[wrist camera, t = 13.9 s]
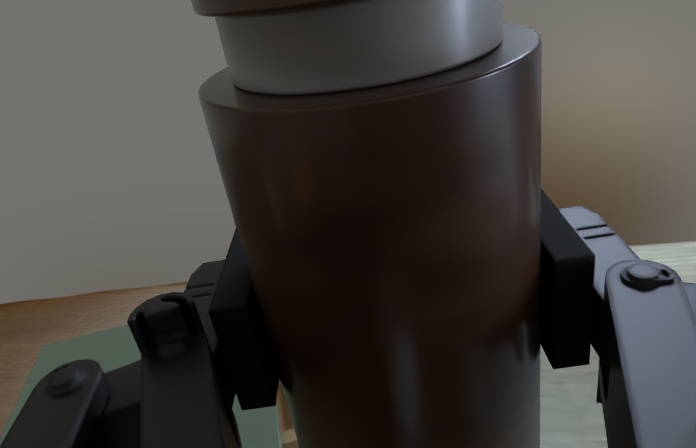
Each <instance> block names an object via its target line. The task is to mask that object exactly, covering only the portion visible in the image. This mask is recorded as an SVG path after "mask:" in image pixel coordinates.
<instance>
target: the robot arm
mask: <svg viewBox="0 0 696 448" xmlns="http://www.w3.org/2000/svg"><path fill="white" fill-rule="evenodd" d="M127 323H128V325H129V328H130V330H131V332H132V335H133V337H134V339H135V342H136V344H137V346H138V349H139V351H140V353H141V359H140V360H138V361H136V362H133V363H131V364H129V365H126V366H123V367H120V368H117V369H115V370H112V371H109V372H106V373H104V372H103V370H102V368H101V366H100V364H99V363H98V362H97V361H94V360H91V359H81V360H76V361H72V362H69V363H66V364H63V365H61V366H60V367H57V368H55V369H54V370H52V371H51V372H50V373H48V374H47V375H46V376H44V377H43V378H42V379H41V380H40V381H39V382H38V384H37V385H36V386H35V387H34V389H33V390H32V392H31V394H30V395H29V397H28V399H27V400H26V402H25V404H24V406H23V407H22V409H21V411H20V412H19V414H18V416H17V418H16V419H15V421H14V423H13V424H12V426H11V428H10V430H9V431H8V433H7V435H6V436H5V438H4V440H3V442H2V443H1V445H0V448H242V444H241V439H240V434H239V429H238V424H237V421H236V418H235V415H234V413H233V410H232V408H233V403H234V398H235V394H236V395H237V398H238V401H239V404H240V407H241V409H242V410H249V409H257V408H264V407H272V406H276V399H277V391H278V383H279V374H278V371H277V368H276V364H275V361H274V357H273V354H272V350H271V347H270V343H269V340H268V336H267V333H266V329H265V326H264V322H263V319H262V315H261V312H260V308H259V305H258V301H257V298H256V294H255V291H254V287H253V284H252V280H251V277H250V273H249V270H248V266H247V263H246V259H245V256H244V253H243V249H242V246H241V242H240V239H239V235H238V232H237V228H236V230H235V233H234V236H233V239H232V242H231V245H230V248H229V250H228V254H227V256H226V259H225V260H221V261H215V262H207V263H203V264H202V265H201V266H200V267H199V268H198V269H197V270H196V271H195V272H194V273H193V274H192V275H191V277H190V279H189V281H188V284H187V286H186V290H185V291H184V293H183V292H171V293H166V294H161V295H158V296H156V297H154V298H151V299H149V300H147V301H145V302H144V303H142V304H141V305H139V306H138V307H137V308H136V309H135V310H134V311H133V312H132V313H131V314H130V316H129V319H128V321H127ZM590 343H591V345H592V346H593V348H594V350H595V351H596V353H597V354H598V356H599V358H600V359H599V374H598V388H597V403H602V406H603V414H604V421H605V429H606V436H607V443H608V448H696V284H694V283H685V282H682V281H681V278H680V277H679V276H678V274H677V273H676V272H675V271H674V270H672V269H671V268H669V267H667V266H665V265H663V264H660V263H657V262H653V261H648V260H641V259H640V258H639V257H638V256H637V255H636V254H635V253H634V252H633V251H632V250H631V249H630V248H629V247H628V246H627V245H626V243H624V241H623V240H622V239H621V238H620V237H619V236H618V235H616V234H615V232H614V231H613V230H612V229H611V228H610V226H607V223H606V222H605V221H604V220H603V219H602V218H601V217H600V216H599V215H598V214H597V213H595V212H593V211H591V210H589V209H587V208H584V207H582V206H575V207H569V208H561V209H557V208H556V206H555V205H554V204H553V203H552V201H551V200H550V199H549V198H548V196H547V195H546V194H545V193H544V192H543V190H542V189H541V256H540V344H541V346H542V348H543V350H544V352H545V354H546V356H547V358H548V360H549V362H550V364H551V366H552V368H553V369H558V368H565V367H573V366H580V365H588V364H589V358H590Z"/></svg>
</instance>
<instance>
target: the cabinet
mask: <svg viewBox="0 0 696 448" xmlns="http://www.w3.org/2000/svg"><path fill="white" fill-rule="evenodd" d="M81 359H91V360H94V361H97V362H98V363H99V364H100V366H101V368H102V370H103V372H104V373H106V372H109V371H112V370H115V369H117V368H120V367H123V366H126V365H129V364H131V363H133V362H136V361H138V360H140V359H141V353H140V351H139V349H138V346H137V344H136V342H135V339H134V337H133V335H132V332H131V330H130V328H129V325H125V326H121V327H117V328H113V329H109V330H105V331H101V332H96V333H92V334H88V335H84V336H80V337H76V338H72V339H68V340H64V341H60V342H56V343H52V344H48V345H44V346H43V348H42V350H41V352H40V354H39V357H38V359H37V361H36V363H35V365H34V367H33V369H32V372H31V374H30V376H29V378H28V380H27V382H26V384H25V386H24V389H23V391H22V393H21V395H20V397H19V399H18V401H17V404H16V406H15V408H14V410H13V412H12V414H11V416H10V418H9V421H8V423H7V425H6V427H5V429H4V431H3V433H2V436H1V438H0V445H1V443H2V442H3V440H4V438H5V436H6V435H7V433H8V431H9V430H10V428H11V426H12V424H13V423H14V421H15V419H16V418H17V416H18V414H19V412H20V411H21V409H22V407H23V406H24V404H25V402H26V400H27V399H28V397H29V395H30V394H31V392H32V390H33V389H34V387H35V386H36V385H37V384H38V382H39V381H40V380H41V379H42V378H43V377H44V376H46V375H47V374H48V373H50V372H51V371H52V370H54V369H55V368H57V367H60V366H61V365H63V364H66V363H69V362H72V361H76V360H81ZM232 410H233V413H234V415H235V418H236V421H237V424H238V429H239V434H240V439H241V444H242V448H283V447H282V438H281V429H280V420H279V411H278V402H277V399H276V406H272V407H264V408H257V409H249V410H242V409H241V407H240V404H239V401H238V398H237V395H236V394H235V398H234V403H233V408H232Z"/></svg>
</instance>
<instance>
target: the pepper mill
mask: <svg viewBox="0 0 696 448" xmlns="http://www.w3.org/2000/svg"><path fill="white" fill-rule="evenodd" d="M191 1H192V4H193V8H194V11H195V12H196V14H198V15H202V16H208V17H215V19H216V23H217V27H218V30H219V34H220V38H221V42H222V46H223V50H224V54H225V58H226V62H227V66H228V67H227V68H225V69H223V70H221V71H219V72H218V73H216V74H214V75H213V76H211V77H210V78H209V79H207V80H206V81H205V82H204V83H203V84H202V85H201V87H200V89H199V99H200V103H201V106H202V110H203V113H204V117H205V120H206V124H207V127H208V130H209V134H210V138H211V141H212V144H213V148H214V151H215V155H216V158H217V162H218V165H219V169H220V172H221V176H222V179H223V183H224V186H225V190H226V193H227V197H228V200H229V203H230V207H231V211H232V214H233V218H234V221H235V225H236V228H237V232H238V235H239V239H240V242H241V246H242V249H243V253H244V256H245V259H246V263H247V266H248V270H249V273H250V277H251V280H252V284H253V287H254V291H255V294H256V298H257V301H258V305H259V308H260V312H261V315H262V319H263V322H264V326H265V329H266V333H267V336H268V340H269V343H270V347H271V350H272V354H273V357H274V361H275V364H276V368H277V371H278V374H279V378H280V381H281V385H282V388H283V392H284V395H285V399H286V402H287V406H288V409H289V413H290V416H291V420H292V423H293V427H294V430H295V434H296V437H297V441H298V444H299V448H540V256H541V38H540V35H539V34H537V32H536V31H534V30H532V29H531V28H528V27H525V26H522V25H518V24H513V23H508V22H503V19H502V0H191Z"/></svg>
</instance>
